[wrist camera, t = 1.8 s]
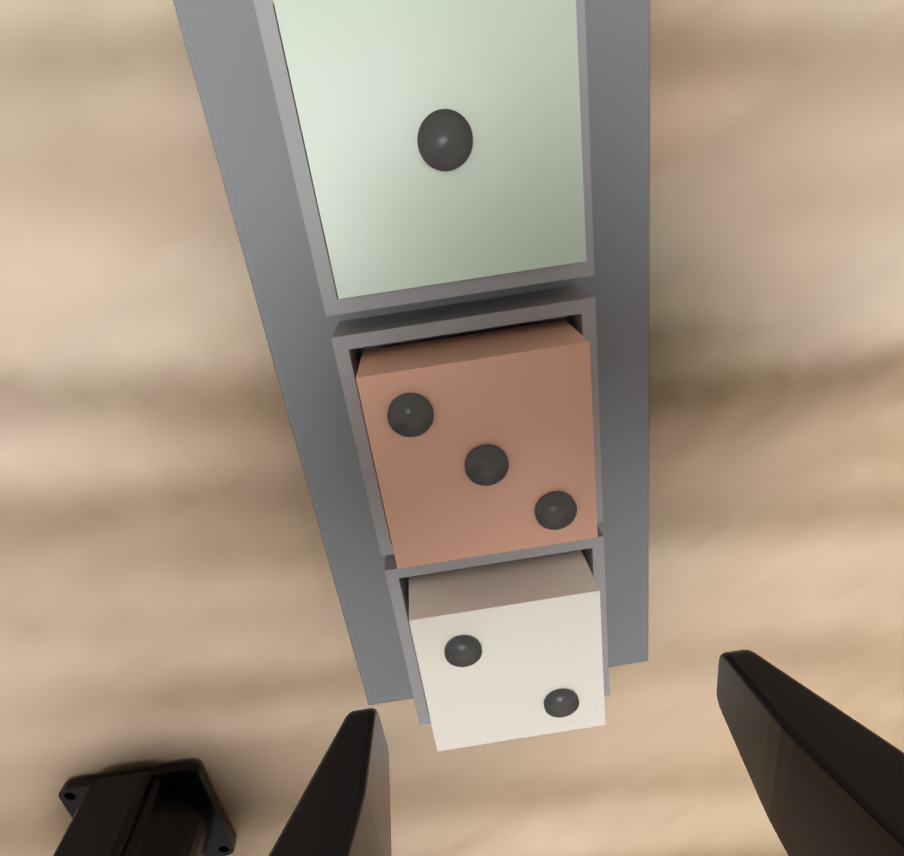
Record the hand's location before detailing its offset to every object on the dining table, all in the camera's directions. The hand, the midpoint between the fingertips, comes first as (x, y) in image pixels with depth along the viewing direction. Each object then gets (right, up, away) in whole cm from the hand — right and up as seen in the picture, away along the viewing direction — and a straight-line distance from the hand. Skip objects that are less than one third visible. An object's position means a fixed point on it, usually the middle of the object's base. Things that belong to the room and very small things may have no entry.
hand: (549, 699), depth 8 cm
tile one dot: (-2, +11, +6) cm, 13 cm away
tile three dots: (-1, +4, +9) cm, 10 cm away
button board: (-1, +5, +12) cm, 13 cm away
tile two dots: (0, -3, +13) cm, 13 cm away
